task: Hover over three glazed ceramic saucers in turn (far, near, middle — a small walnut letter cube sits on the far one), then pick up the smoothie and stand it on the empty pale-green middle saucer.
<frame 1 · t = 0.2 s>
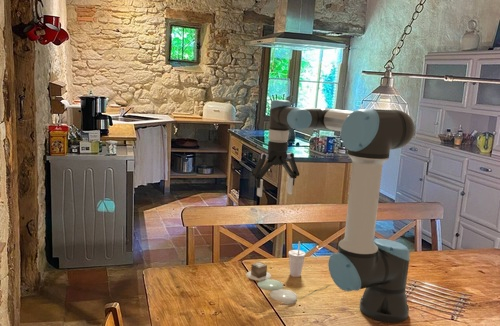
hand: (274, 194, 179), 27 cm above the table, fingers open, 13 cm apart
letter cube: (258, 275, 168), point 1 cm above the table, touching saucer far
saucer far: (258, 278, 168), on the table
saucer near: (283, 298, 153), on the table
smoothie: (295, 278, 170), on the table
saucer mid: (270, 287, 161), on the table
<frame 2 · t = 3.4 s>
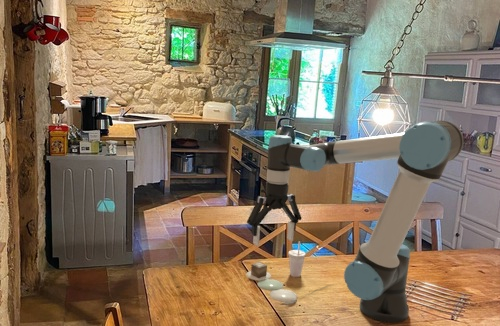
hand: (273, 242, 158), 17 cm above the table, fingers open, 13 cm apart
nothing on the table moved.
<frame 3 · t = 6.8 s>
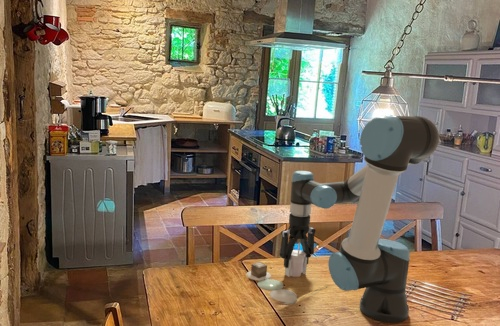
hand: (295, 273, 170), 1 cm above the table, fingers closed on smoothie, 6 cm apart
smoothie: (295, 278, 170), on the table, touching gripper
everything else where it was.
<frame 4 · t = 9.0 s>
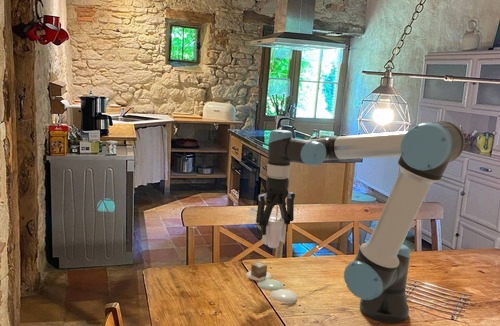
hand: (273, 242, 158), 17 cm above the table, fingers closed on smoothie, 6 cm apart
smoothie: (273, 246, 158), point 15 cm above the table, touching gripper
everything else where it was.
when the fingers open (4 cm above the table, at t = 11.7 s): smoothie stays where it is, resting on saucer mid.
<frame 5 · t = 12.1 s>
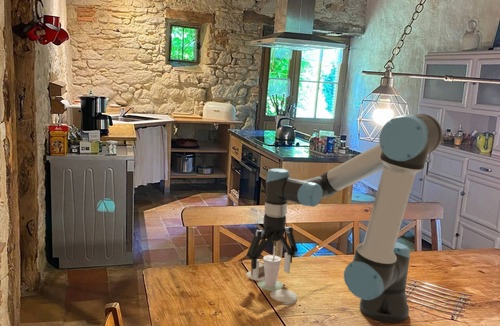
hand: (271, 274, 160), 5 cm above the table, fingers open, 12 cm apart
smoothie: (270, 285, 161), point 1 cm above the table, touching saucer mid
everything else where it was.
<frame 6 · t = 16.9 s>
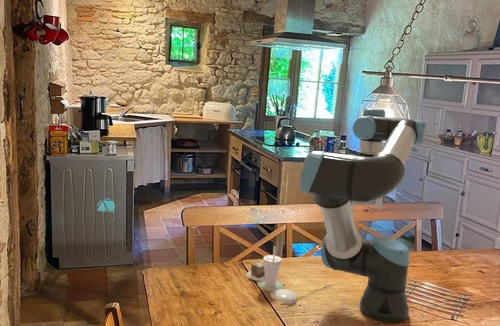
hand: (364, 210, 167), 27 cm above the table, fingers open, 13 cm apart
nothing on the table moved.
at the end: smoothie 0.0 cm from the saucer mid (horizontally); smoothie tilted 0°; the gripper is holding nothing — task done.
